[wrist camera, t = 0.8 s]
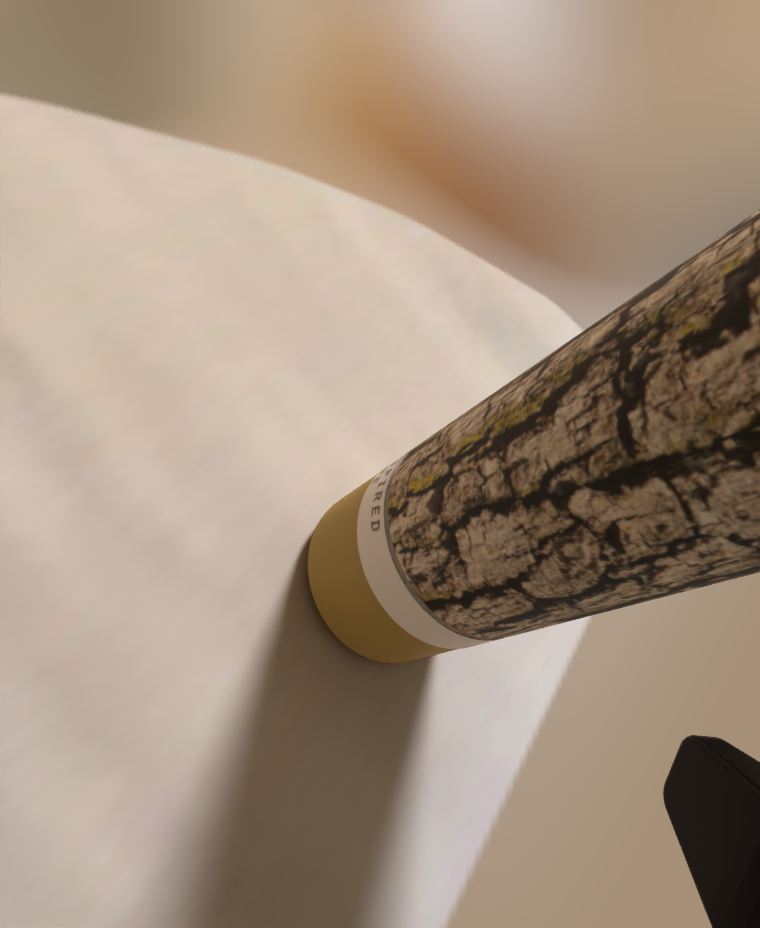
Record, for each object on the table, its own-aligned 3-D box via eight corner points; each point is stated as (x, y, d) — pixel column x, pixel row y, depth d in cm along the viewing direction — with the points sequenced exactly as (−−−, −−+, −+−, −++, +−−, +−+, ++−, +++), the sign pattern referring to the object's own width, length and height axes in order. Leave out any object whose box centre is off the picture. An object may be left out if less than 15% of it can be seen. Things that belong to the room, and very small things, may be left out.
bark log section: (273, 620, 22) (2144, -275, 4) (331, 468, 26) (1366, -339, 7) (424, 695, 24) (2085, 392, 6) (458, 545, 28) (1505, 71, 10)
